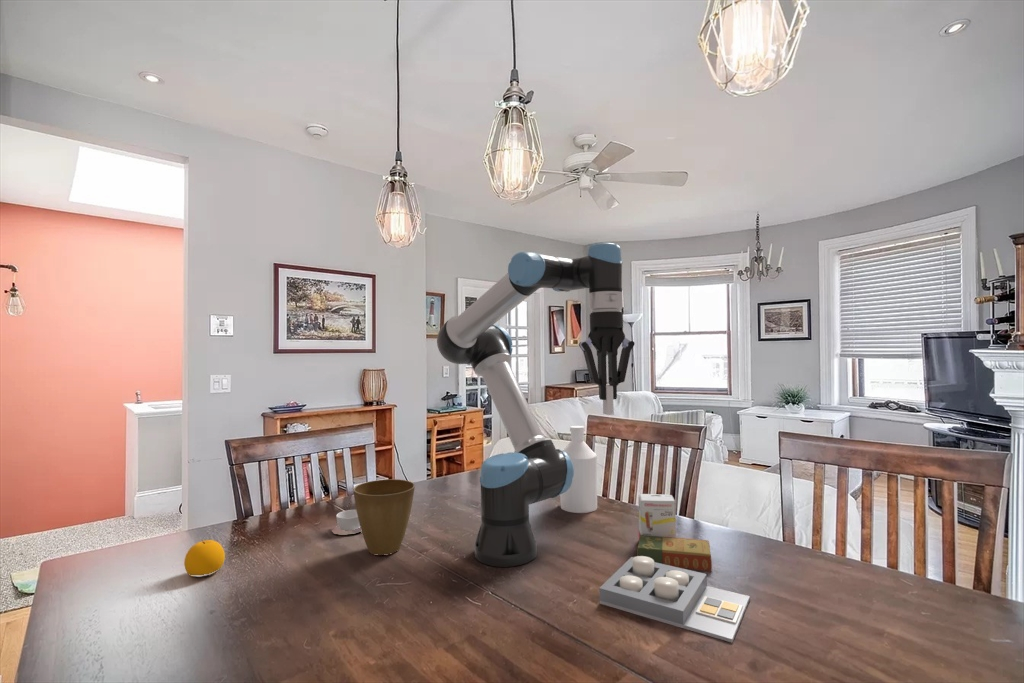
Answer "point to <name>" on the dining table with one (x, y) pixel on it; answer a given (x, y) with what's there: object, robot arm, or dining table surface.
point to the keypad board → (679, 602)
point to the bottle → (581, 475)
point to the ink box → (657, 515)
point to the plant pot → (384, 513)
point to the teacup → (348, 520)
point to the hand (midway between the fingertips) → (608, 413)
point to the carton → (676, 551)
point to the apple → (204, 558)
